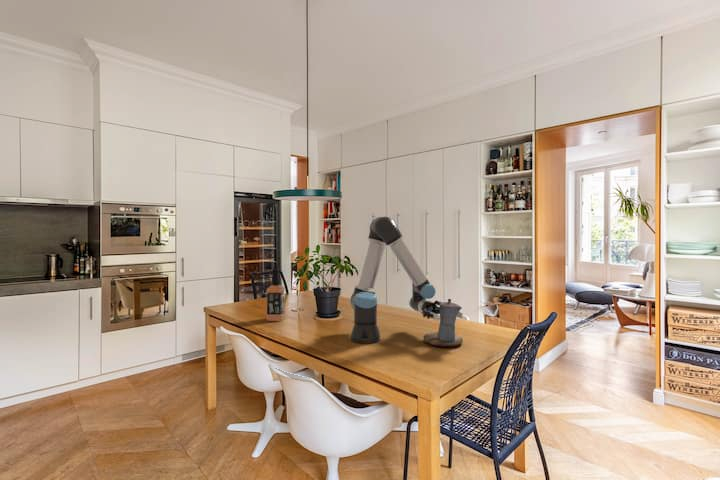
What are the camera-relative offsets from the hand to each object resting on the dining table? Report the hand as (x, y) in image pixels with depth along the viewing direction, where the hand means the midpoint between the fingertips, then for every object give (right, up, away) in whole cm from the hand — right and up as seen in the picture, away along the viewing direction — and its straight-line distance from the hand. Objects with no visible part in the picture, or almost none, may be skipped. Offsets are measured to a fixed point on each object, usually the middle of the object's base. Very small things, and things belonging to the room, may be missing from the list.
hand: (450, 316), depth 181 cm
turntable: (-2, -13, +6) cm, 15 cm away
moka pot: (-2, -12, +3) cm, 12 cm away
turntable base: (-2, -14, +6) cm, 16 cm away
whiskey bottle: (-96, -13, +54) cm, 111 cm away
